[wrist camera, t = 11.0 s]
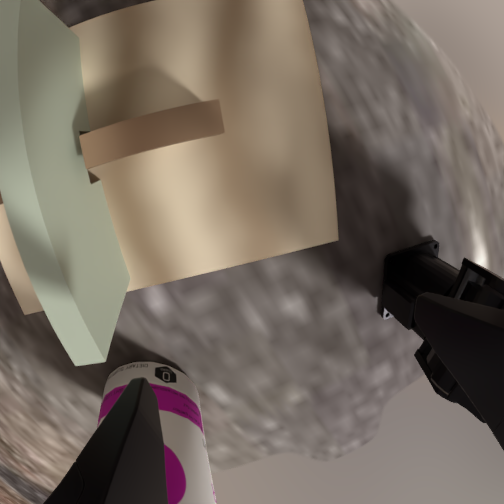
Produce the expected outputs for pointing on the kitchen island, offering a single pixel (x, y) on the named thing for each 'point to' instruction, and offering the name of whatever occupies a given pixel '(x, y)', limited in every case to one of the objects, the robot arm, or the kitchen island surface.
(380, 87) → the kitchen island surface
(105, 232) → the sage slotted plate
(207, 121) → the walnut slotted plate
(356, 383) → the kitchen island surface
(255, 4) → the birch board
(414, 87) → the kitchen island surface
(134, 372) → the supplement can
